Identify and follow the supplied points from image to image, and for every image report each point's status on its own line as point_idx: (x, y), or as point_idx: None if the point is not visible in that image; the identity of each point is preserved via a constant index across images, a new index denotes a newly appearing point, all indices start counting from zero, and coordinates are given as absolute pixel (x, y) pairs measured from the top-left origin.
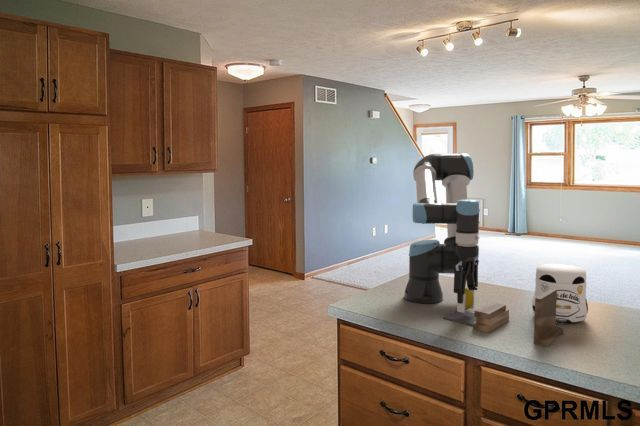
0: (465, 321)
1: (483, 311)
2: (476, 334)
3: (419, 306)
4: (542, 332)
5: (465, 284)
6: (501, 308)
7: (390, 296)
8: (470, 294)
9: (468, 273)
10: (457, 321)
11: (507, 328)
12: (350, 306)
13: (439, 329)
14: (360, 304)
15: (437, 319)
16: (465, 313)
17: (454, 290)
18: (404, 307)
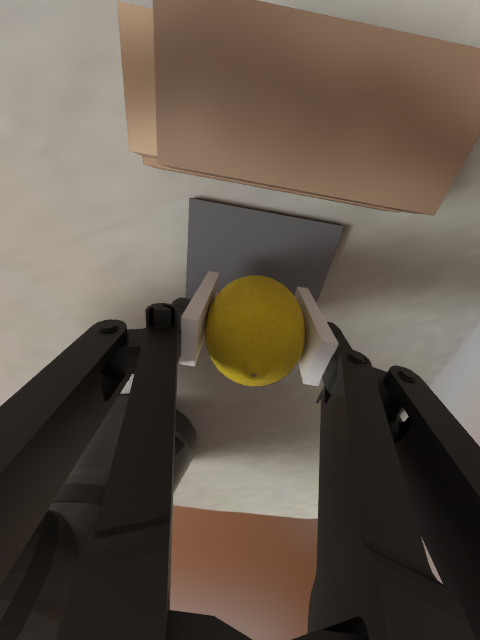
0: (317, 265)
1: (446, 139)
2: (465, 165)
3: (219, 421)
4: None
5: (348, 407)
6: (257, 8)
7: (188, 478)
8: (277, 314)
9: (396, 593)
10: (316, 295)
11: (305, 5)
12: (307, 503)
13: (425, 321)
14: (283, 497)
15: None
16: None
17: (397, 417)
18: (251, 442)
